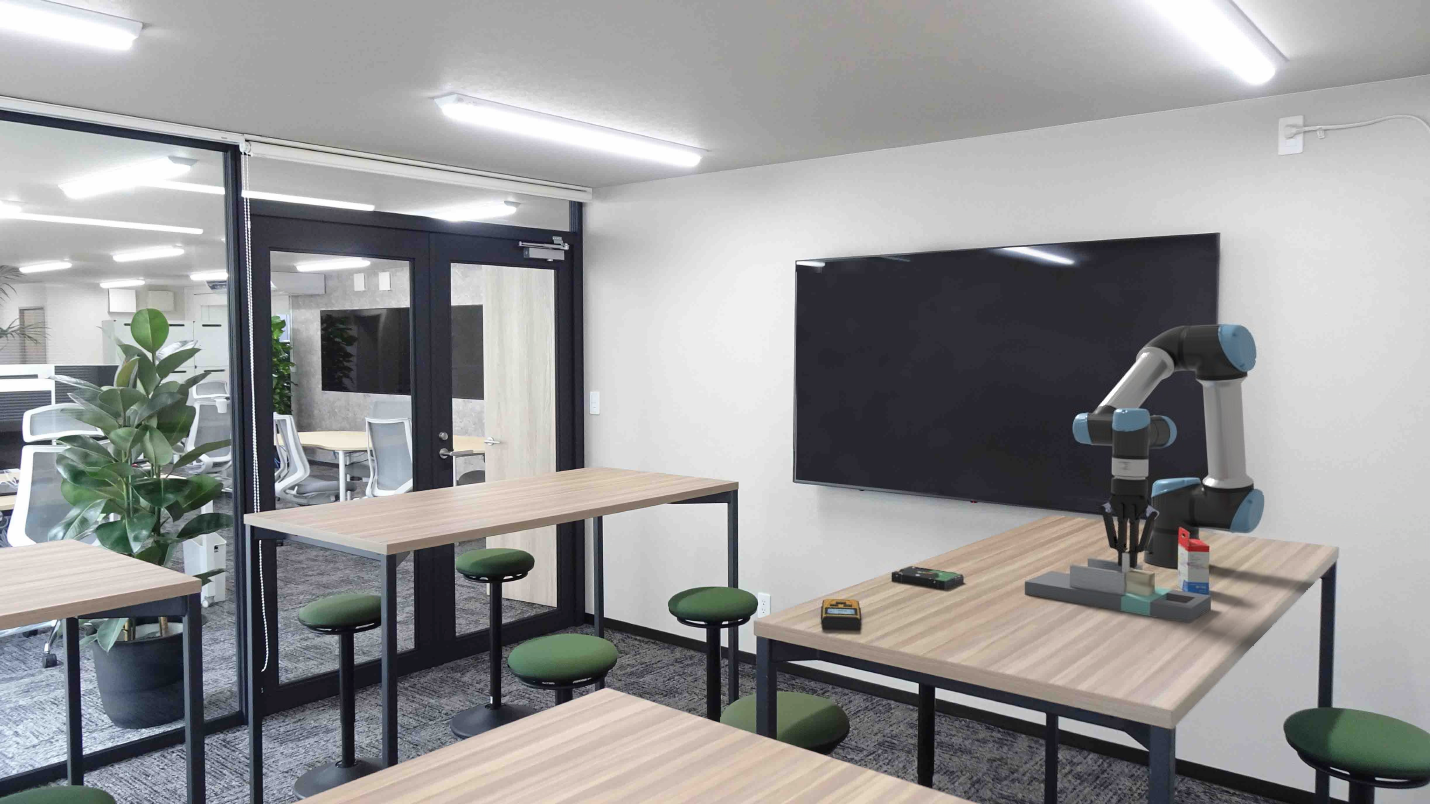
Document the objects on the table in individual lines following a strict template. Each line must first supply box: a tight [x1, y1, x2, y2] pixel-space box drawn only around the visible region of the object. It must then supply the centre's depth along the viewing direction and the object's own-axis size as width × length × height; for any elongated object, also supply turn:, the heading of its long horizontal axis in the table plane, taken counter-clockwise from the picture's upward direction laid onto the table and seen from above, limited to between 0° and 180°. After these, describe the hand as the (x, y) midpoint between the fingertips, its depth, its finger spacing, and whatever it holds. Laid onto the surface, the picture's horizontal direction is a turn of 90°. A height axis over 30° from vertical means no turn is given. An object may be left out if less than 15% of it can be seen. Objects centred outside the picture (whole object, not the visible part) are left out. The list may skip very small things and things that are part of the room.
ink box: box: [1177, 527, 1210, 595], centre depth 221 cm, size 8×5×15 cm, turn 168°
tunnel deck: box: [1024, 557, 1212, 624], centre depth 211 cm, size 15×36×8 cm, turn 47°
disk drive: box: [890, 565, 965, 591], centre depth 231 cm, size 10×3×15 cm
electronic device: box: [820, 598, 862, 632], centre depth 196 cm, size 8×16×3 cm, turn 173°
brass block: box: [1127, 569, 1156, 596], centre depth 207 cm, size 4×4×4 cm
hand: (1127, 581), depth 210 cm, fingers closed
